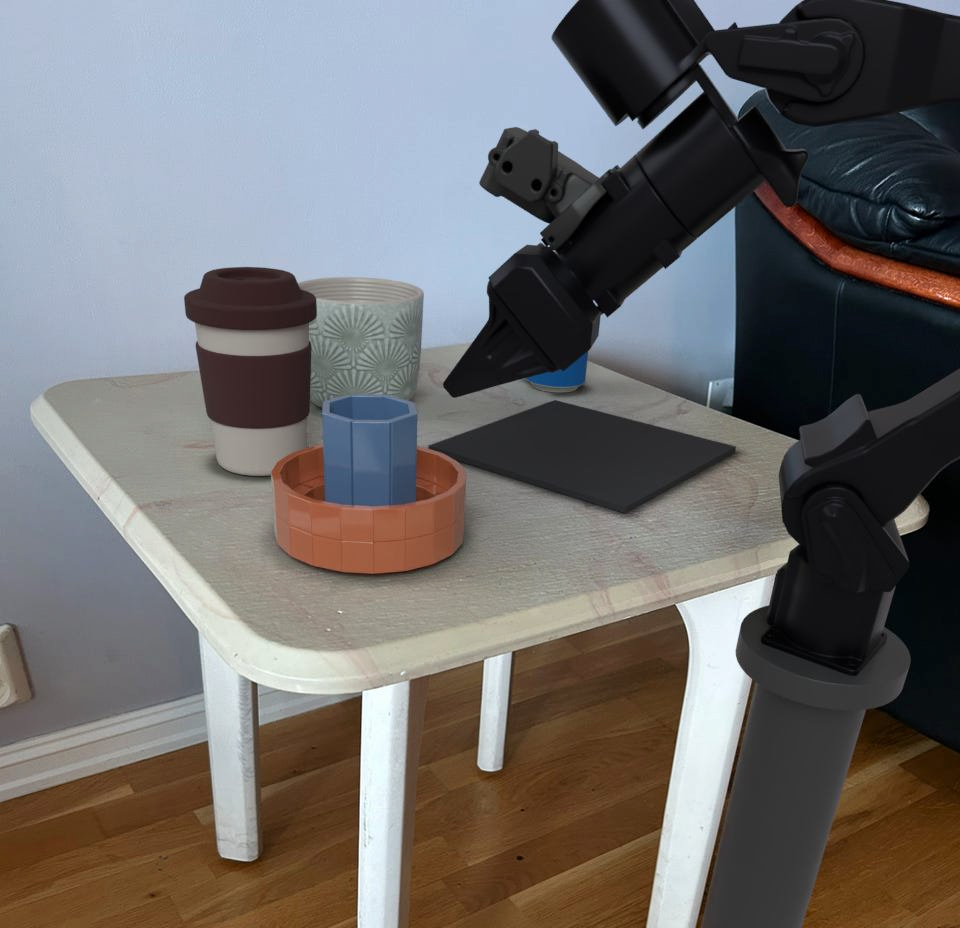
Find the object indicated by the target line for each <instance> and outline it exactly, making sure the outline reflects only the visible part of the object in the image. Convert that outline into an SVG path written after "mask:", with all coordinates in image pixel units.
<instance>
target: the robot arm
mask: <svg viewBox="0 0 960 928" xmlns="http://www.w3.org/2000/svg"><path fill="white" fill-rule="evenodd" d="M551 41H552V43H554V45H555V46H556V47H557V49H558V50H559V51H560V53H561V54H562V56H563V57H564V58H565V61H567V63H568V64H569V65H570V67H571V68H572V69H573V71H574V72H575V74H576V75H577V76H578V78H579V79H580V80H581V82H582V83H583V85H584V87H586V88H587V90H588V91H589V93H590V94H591V95H592V96H593V98H594V99H595V101H596V102H597V104H598V105H599V106H600V108H601V109H602V110H603V112H604V113H605V114H606V116H607V118H609V120H610V121H611V123H612V124H613V125H614V127H617V126H619V125H620V124H621V123H623V122H624V121H625V120H626V119H628V118H629V119H630V121H631V122H634V121H635V120H636V119H637V121H636V123H637V124H638V125H639V127H640V128H641V130H645V128H647V127H648V126H649V125H650V124H652V123H653V122H654V121H655V120H656V119H657V118H659V117H660V116H661V115H662V114H663V113H664V112H665V111H666V110H668V108H669V107H670V106H671V105H672V104H674V103H675V102H676V101H677V100H678V99H679V98H680V97H681V96H683V94H684V93H685V92H686V91H688V89H690V88H691V87H692V86H693V85H694V84H695V83H696V82H697V84H698V86H699V87H700V89H702V92H701V93H700V94H699V95H698V96H697V97H696V98H695V99H693V101H692V102H690V103H689V104H687V106H686V107H685V108H684V109H683V110H682V111H681V112H679V113H678V114H677V116H675V117H674V118H673V119H672V120H671V121H670V122H669V123H668V124H666V126H664V127H663V128H662V129H661V130H660V131H659V132H658V133H657V134H655V136H653V137H652V138H651V139H650V140H649V141H648V142H647V143H646V144H645V145H644V146H642V147H641V148H640V149H639V150H638V151H637V152H636V153H635V154H633V156H631V157H630V158H629V159H628V160H627V161H626V162H625V163H624V164H623V165H622V166H621V167H620V166H619V164H616V165H615V166H613V167H612V168H609V169H607V171H605V173H603V174H602V175H601V176H600V177H599V176H597V175H596V174H594V173H593V172H591V171H590V170H588V169H587V168H585V167H584V166H582V165H581V164H579V162H577V161H575V160H573V159H572V158H571V157H569V156H567V155H565V154H564V153H563V152H561V151H559V142H557V141H555V140H553V141H552V140H549V139H548V138H546V137H544V136H543V135H541V134H540V131H539V130H538V129H536V128H533V129H529V130H528V131H527V130H526V129H523V128H520V127H518V126H513V127H508V128H504V129H503V131H502V133H501V135H500V137H499V139H498V142H497V143H496V146H494V147H493V148H491V149H490V150H489V151H488V154H487V160H488V162H487V165H486V167H485V169H484V171H483V173H482V175H481V177H480V179H479V181H478V183H479V186H480V187H481V188H482V189H483V190H485V191H486V192H487V193H489V194H490V195H492V196H494V197H495V198H500V197H502V198H504V199H505V200H507V201H509V202H511V203H512V204H513V205H515V206H517V207H518V208H520V209H522V210H523V211H525V212H527V213H528V214H529V215H531V216H533V217H535V218H536V219H538V220H539V221H542V222H544V223H546V224H548V225H546V226H545V228H543V230H541V231H540V232H539V234H540V236H541V237H542V238H541V239H540V240H541V242H539V243H538V244H536V245H535V244H526V245H524V246H523V247H521V248H519V249H518V250H517V251H515V252H514V253H513V254H512V255H511V256H510V257H509V258H508V259H507V260H505V262H503V263H502V264H501V265H500V266H499V267H497V268H496V270H495V271H493V273H491V274H490V275H489V276H488V282H487V285H486V295H487V297H488V319H487V321H486V322H485V323H484V326H483V327H482V328H481V329H480V331H479V332H478V334H477V336H476V337H474V340H473V341H472V342H471V344H470V345H469V346H468V347H467V348H466V350H465V352H464V354H463V355H462V356H461V358H460V359H459V360H458V361H457V362H456V364H455V365H454V367H453V369H451V371H450V372H449V374H448V375H447V376H446V378H445V379H444V381H443V382H442V387H443V389H444V390H445V391H446V392H447V393H448V395H449V396H450V397H452V398H453V399H457V398H460V397H463V396H467V395H471V394H474V393H477V392H478V393H479V392H480V391H485V390H488V389H491V388H494V387H497V386H498V387H499V386H501V385H506V384H508V383H513V382H516V381H520V380H524V379H526V378H528V377H532V376H536V375H540V374H543V373H547V372H551V373H554V372H556V371H558V370H560V369H561V370H562V371H565V370H566V369H567V368H568V367H569V366H571V365H572V364H573V363H574V362H575V361H577V360H578V359H579V358H580V357H582V356H583V355H584V354H585V353H586V352H588V353H589V351H590V350H591V349H592V347H593V345H594V344H595V342H596V341H597V339H598V338H599V334H600V326H601V325H600V324H601V317H602V315H605V317H606V318H609V317H610V316H611V315H613V314H614V313H615V312H616V311H617V310H619V308H621V307H622V306H623V304H624V302H625V300H626V299H627V298H629V297H630V296H631V295H632V294H633V293H634V292H636V291H637V290H638V289H639V288H640V287H642V286H643V285H644V284H645V283H647V282H648V281H649V280H650V279H651V278H652V277H654V275H656V274H657V273H658V272H659V271H660V270H662V269H663V268H664V270H666V269H668V268H670V266H671V265H672V264H674V263H675V262H676V261H677V260H678V259H680V258H681V256H682V253H683V252H684V251H685V250H686V249H687V248H688V247H689V246H690V245H692V244H693V243H694V242H695V241H696V240H697V239H699V238H700V237H701V236H702V235H703V234H704V233H706V232H707V231H709V229H711V228H712V227H713V226H714V225H716V224H717V223H718V222H719V221H720V220H721V219H722V218H724V217H725V216H726V215H727V214H729V213H730V212H731V211H732V210H733V209H735V207H737V206H739V204H740V203H742V202H743V201H744V200H745V199H746V198H747V197H749V196H750V195H751V194H753V193H754V192H755V191H756V190H757V189H758V188H760V187H761V186H762V185H763V184H764V183H765V182H767V184H768V185H769V186H770V188H771V190H772V191H773V193H775V195H776V196H777V197H778V199H779V201H780V202H781V204H782V205H783V206H784V207H786V208H792V207H794V206H795V205H796V204H797V202H798V197H799V187H800V180H801V177H802V173H803V171H804V168H805V166H806V164H807V162H808V160H809V158H810V154H809V152H808V151H807V150H806V149H804V148H798V149H797V148H795V149H793V148H792V149H790V148H786V146H785V145H784V144H783V141H782V140H781V139H780V138H779V136H778V135H777V133H776V132H775V130H774V129H773V127H772V126H771V125H770V123H769V121H768V120H767V119H766V118H765V116H764V114H763V112H761V110H760V109H759V107H758V106H757V105H753V106H752V107H751V108H750V109H748V110H747V111H746V112H745V113H744V114H742V115H741V116H740V117H739V118H738V116H737V115H736V113H735V112H734V110H733V109H732V108H731V106H730V105H729V103H728V102H727V101H726V100H725V98H724V97H723V95H722V93H721V92H720V91H719V90H718V88H717V87H716V85H715V84H714V82H713V81H712V79H711V78H710V77H709V75H708V74H707V72H706V71H705V70H704V68H703V67H702V64H700V63H702V61H704V60H705V58H707V57H708V56H712V57H713V59H714V60H715V61H716V63H717V65H718V66H719V67H720V69H721V70H722V72H723V73H724V74H725V76H727V77H728V78H729V79H732V80H736V81H738V82H742V83H745V84H749V85H751V86H755V87H759V88H762V89H764V92H765V94H766V97H767V100H768V101H769V102H770V104H771V105H772V107H773V108H774V109H775V110H776V111H777V113H778V114H780V115H781V116H782V117H784V118H785V119H787V120H789V121H790V122H793V123H794V124H796V125H801V126H806V127H811V128H812V127H813V128H818V127H826V126H832V125H833V126H834V125H837V124H839V125H840V124H843V123H849V122H855V121H860V120H861V121H862V120H866V119H871V118H878V117H884V116H888V115H894V114H899V113H903V112H909V111H913V110H919V109H922V108H928V107H933V106H939V105H945V104H950V103H960V15H957V14H956V15H955V14H952V13H951V14H950V13H945V12H941V11H937V10H933V9H929V8H926V7H921V6H916V5H913V4H909V3H904V2H900V1H894V0H801V1H800V2H798V3H797V4H796V5H794V7H793V8H791V10H789V12H788V13H787V14H786V15H785V16H784V17H783V18H781V20H780V21H779V22H777V23H776V22H775V23H768V24H759V25H750V26H740V27H738V24H737V22H736V21H734V22H733V23H732V24H731V25H730V26H729V27H728V28H724V29H723V28H722V29H714V27H713V25H712V24H711V22H710V21H709V20H708V18H707V17H706V15H705V14H704V12H703V11H702V9H701V8H700V6H699V5H698V3H697V2H696V1H695V0H577V1H576V2H575V3H574V5H572V7H571V8H570V9H569V10H568V11H567V12H566V14H565V15H564V16H563V17H562V19H561V20H560V22H559V23H558V25H557V26H556V27H555V29H554V30H553V33H552V34H551ZM798 429H799V437H800V439H798V440H797V441H796V442H795V443H794V444H792V445H791V446H790V447H788V449H787V451H786V452H785V453H784V455H783V458H782V460H781V463H780V467H779V472H778V483H779V485H778V486H779V496H780V508H781V519H782V523H783V526H784V527H785V529H786V532H787V534H788V535H789V536H790V537H791V538H792V539H793V540H794V541H795V542H796V543H797V544H798V545H796V546H795V547H793V548H792V549H791V550H790V551H789V554H788V558H787V561H786V562H785V563H784V564H783V565H782V566H781V567H779V568H778V569H777V570H776V574H775V578H774V583H773V588H772V592H771V597H770V602H769V610H768V614H767V619H766V621H767V623H768V625H771V626H772V627H770V628H769V629H768V630H767V631H766V632H765V633H764V634H763V635H762V638H761V643H763V644H764V645H767V646H769V647H772V648H775V649H778V650H780V651H783V652H786V653H789V654H791V655H794V656H797V657H800V658H802V659H805V660H808V661H811V662H813V663H816V664H819V665H822V666H825V667H827V668H830V669H833V670H836V671H838V672H841V673H844V674H847V675H850V676H856V675H858V674H859V673H860V672H861V671H862V669H863V668H864V667H865V666H866V665H867V664H868V662H869V661H870V660H871V659H872V658H873V657H874V655H875V654H876V653H877V652H878V651H879V650H880V648H881V647H882V646H883V645H884V644H885V643H886V640H887V637H888V635H887V634H886V633H884V632H883V628H884V627H885V625H886V621H887V617H888V614H889V611H890V607H891V604H892V600H893V597H894V594H895V590H896V588H897V585H898V584H899V582H900V581H901V580H902V578H903V577H904V576H905V574H906V573H907V572H908V570H909V569H910V567H911V565H910V561H909V558H908V555H907V551H906V549H905V546H904V543H903V540H902V537H901V534H900V531H899V529H898V525H897V523H896V520H895V519H896V518H898V517H900V515H902V514H903V513H904V512H905V511H906V510H907V509H908V508H909V507H910V506H911V505H912V504H913V503H914V501H915V500H916V499H917V498H918V497H919V496H920V495H921V494H922V492H924V490H925V489H926V488H927V487H928V486H929V484H931V482H932V481H933V480H934V479H935V478H936V476H937V475H939V474H940V473H941V472H942V471H943V470H944V469H945V468H947V467H948V466H949V465H950V464H952V463H954V462H956V461H958V460H959V459H960V368H958V369H956V370H955V371H954V372H951V373H950V374H949V375H947V376H945V377H944V378H942V379H941V380H939V381H937V382H935V383H934V384H932V385H930V386H929V387H927V388H926V389H924V390H923V391H921V392H919V393H918V394H916V395H914V396H912V397H911V398H909V399H907V400H904V401H903V402H900V403H897V404H893V405H890V406H886V407H882V408H877V409H873V410H870V411H868V410H867V407H866V405H865V403H864V400H863V397H862V395H861V394H859V393H856V394H854V395H853V396H850V397H849V398H848V399H847V400H845V401H844V402H843V403H842V404H841V405H840V406H839V407H837V408H836V409H835V410H834V411H833V412H831V413H829V415H827V416H826V417H825V418H823V419H820V420H818V421H816V422H814V423H809V424H805V425H800V426H799V428H798Z"/></svg>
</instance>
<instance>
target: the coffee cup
mask: <svg viewBox="0 0 960 928" xmlns="http://www.w3.org/2000/svg"><path fill="white" fill-rule="evenodd" d="M298 283H299V282H298V280H297V278H296V276H295V275H294V274H293V273H292V272H290V271H287V270H284V269H278V268H270V267H263V266H262V267H260V266H258V267H257V266H235V267H234V266H232V267H231V266H230V267H222V268H216V269H211V270H208V271H207V272H205V273H204V274H203V275H202V279H201V282H200V285H199V288H196V289H193V290H190V291H188V292H187V293H185V294H184V295H183V296H184V297H183V301H184V312H185V316H186V318H187V319H188V320H189V321H191V322H193V323H194V327H195V332H196V339H197V340H196V342H195V352H196V358H197V364H198V369H199V375H200V382H201V387H202V394H203V400H204V407H205V412H206V415H207V418H209V420H210V426H211V432H212V439H213V444H214V451H215V457H216V460H217V464H219V466H220V467H221V468H223V469H224V470H226V471H228V472H230V473H233V474H236V475H241V476H251V477H252V476H253V477H269V476H270V477H271V471H272V470H273V468H274V466H275V465H276V463H277V462H278V461H279V460H281V459H283V458H284V457H286V456H288V455H289V454H291V453H293V452H296V451H299V450H302V449H306V448H307V432H308V431H307V430H308V429H307V427H308V417H309V415H310V410H311V401H310V384H311V350H312V346H311V342H310V341H309V322H312V321H313V320H314V319H316V317H317V303H316V297H315V296H314V295H313V294H312V293H310V292H308V291H305V290H302V289H300V287H299V285H298Z"/></svg>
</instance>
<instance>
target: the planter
mask: <svg viewBox="0 0 960 928" xmlns="http://www.w3.org/2000/svg"><path fill="white" fill-rule="evenodd" d="M297 283H298V285H299V287H300V289H302V290H305V291H308V292H310V293H312V294H313V295H314V296H315V297H316V303H317V317H316V319H314V320H313V321H312V322H309V341H310V342H311V346H312V350H311V384H310V402H311V403H313V404H314V405H316V406H318V407H319V408H321V409H322V402H324V401H327V400H330V399H334V398H338V397H341V396H345V395H351V394H381V395H390V396H393V397H397V398H400V399H404V400H407V401H411V399H412V398H413V396H414V395H415V393H416V389H417V386H418V382H419V381H418V380H419V375H420V367H421V355H422V339H423V319H424V298H425V292H424V291H423V289H422V288H420V287H419V286H416V285H414V284H412V283H411V284H410V283H407V282H404V281H399V280H392V279H386V278H376V277H357V276H338V277H322V278H314V279H313V278H312V279H307V280H303V281H300V282H297Z"/></svg>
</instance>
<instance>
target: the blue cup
mask: <svg viewBox="0 0 960 928" xmlns="http://www.w3.org/2000/svg"><path fill="white" fill-rule="evenodd" d="M321 422H322V423H321V425H322V427H321V428H322V445H323V459H324V490H325V502H331V503H336V504H341V505H357V506H389V505H403V504H408V503H413V502H416V467H417V446H418V411H417V406H416V403H415V402H414V401H411V400H409V401H407V400H404V399H400V398H397V397H393V396H390V395H381V394H351V395H345V396H341V397H338V398H334V399H330V400H327V401H324V402H322V408H321Z"/></svg>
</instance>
